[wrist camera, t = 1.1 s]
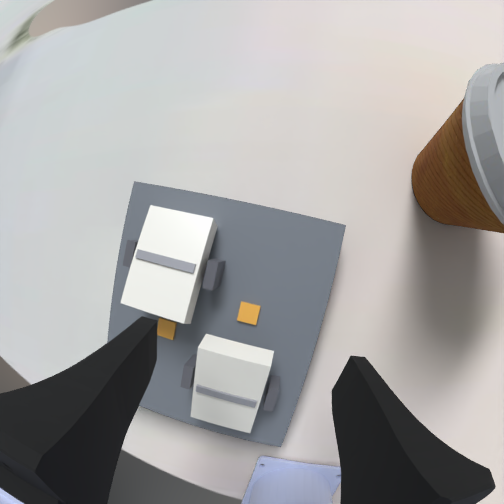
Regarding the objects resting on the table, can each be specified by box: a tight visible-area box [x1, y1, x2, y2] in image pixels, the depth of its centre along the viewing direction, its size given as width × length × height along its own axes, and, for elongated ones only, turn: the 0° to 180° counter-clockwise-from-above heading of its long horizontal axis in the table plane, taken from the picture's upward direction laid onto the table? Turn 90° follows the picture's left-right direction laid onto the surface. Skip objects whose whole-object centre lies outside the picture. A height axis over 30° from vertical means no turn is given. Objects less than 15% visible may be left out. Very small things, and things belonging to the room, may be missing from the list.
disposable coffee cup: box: [412, 63, 504, 233], centre depth 14 cm, size 10×10×12 cm
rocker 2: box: [191, 334, 274, 433], centre depth 17 cm, size 6×4×2 cm, turn 167°
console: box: [108, 181, 346, 447], centre depth 19 cm, size 16×14×5 cm
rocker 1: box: [121, 205, 218, 324], centre depth 17 cm, size 6×4×2 cm, turn 167°
